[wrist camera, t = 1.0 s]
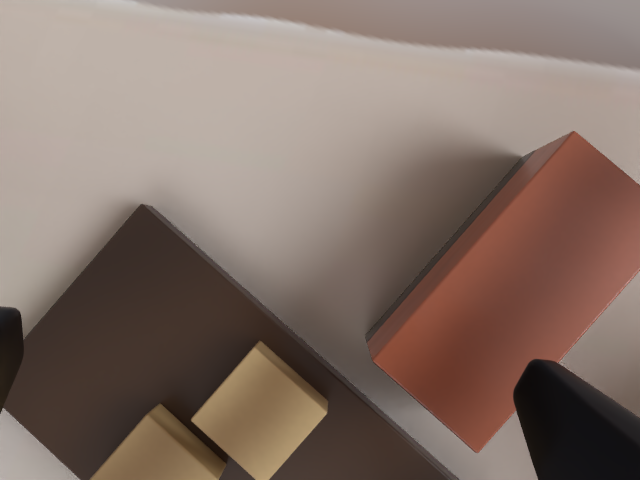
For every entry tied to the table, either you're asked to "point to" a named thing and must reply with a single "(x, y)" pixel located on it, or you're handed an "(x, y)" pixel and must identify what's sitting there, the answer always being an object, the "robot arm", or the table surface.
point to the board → (183, 364)
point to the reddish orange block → (513, 286)
